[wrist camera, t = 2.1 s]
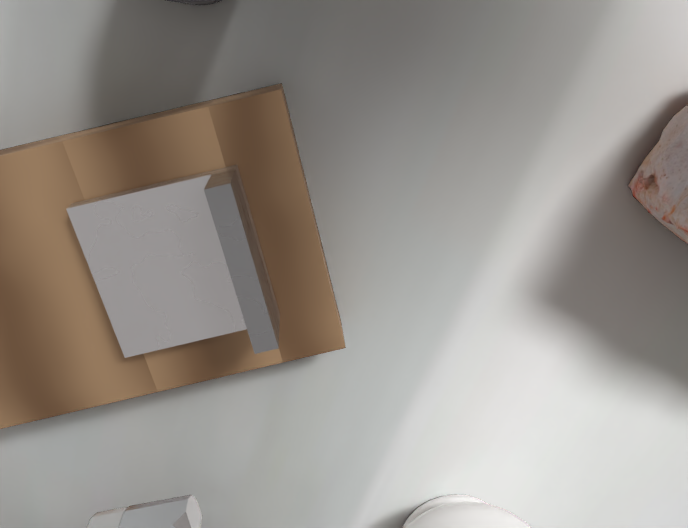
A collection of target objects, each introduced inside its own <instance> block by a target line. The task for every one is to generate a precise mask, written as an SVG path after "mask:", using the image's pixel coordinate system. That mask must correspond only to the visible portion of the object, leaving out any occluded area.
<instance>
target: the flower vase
mask: <svg viewBox="0 0 688 528" xmlns="http://www.w3.org/2000/svg"><path fill="white" fill-rule="evenodd" d="M402 528H531V526H530V525H529V524H528V523H527V522H525V521H524V520H522V519H521V518H519V517H518V516H516V515H514V514H513V513H511V512H510V511H508V510H506V509H503V508H500V507H497V506H494V505H490V504H487V503H486V502H484V501H483V500H481V499H479V498H475V497H472V496H469V495H457V494H454V495H447V496H441V497H438V498H435V499H433V500H430V501H428V502H426V503H424V504H423V505H421V506H420V507H418V508H417V509H416V510H415V511H414V512H413V513H412V514H411V515H410V516H409V517H408V518H407V520H406V522H405V523H404V525H403V527H402Z"/></svg>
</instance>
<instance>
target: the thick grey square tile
mask: <svg viewBox="0 0 688 528" xmlns="http://www.w3.org/2000/svg"><path fill="white" fill-rule="evenodd" d="M66 210H67V212H68V215H69V217H70V220H71V223H72V225H73V228H74V230H75V233H76V235H77V238H78V240H79V243H80V245H81V248H82V250H83V253H84V256H85V258H86V261H87V263H88V266H89V268H90V271H91V273H92V276H93V278H94V281H95V283H96V286H97V289H98V291H99V294H100V296H101V299H102V301H103V304H104V306H105V309H106V311H107V314H108V316H109V319H110V321H111V324H112V327H113V329H114V332H115V334H116V337H117V339H118V342H119V344H120V347H121V349H122V352H123V354H124V357H125V358H127V357H131V356H135V355H140V354H144V353H148V352H152V351H157V350H161V349H165V348H169V347H174V346H178V345H182V344H186V343H191V342H195V341H199V340H203V339H208V338H212V337H216V336H220V335H225V334H229V333H233V332H237V331H242V330H246V329H247V331H248V334H249V337H250V341H251V344H252V347H253V350H254V354H257V353H261V352H266V351H270V350H274V349H279V325H280V313H279V309H278V306H277V302H276V299H275V295H274V292H273V288H272V285H271V281H270V278H269V274H268V271H267V267H266V264H265V260H264V257H263V253H262V250H261V246H260V243H259V239H258V236H257V232H256V229H255V225H254V222H253V218H252V215H251V211H250V208H249V204H248V201H247V197H246V194H245V190H244V187H243V183H242V180H241V176H240V172H239V169H238V165H233V166H229V167H224V168H220V169H216V170H212V171H207V172H203V173H199V174H195V175H190V176H186V177H182V178H178V179H174V180H169V181H165V182H161V183H157V184H152V185H148V186H144V187H140V188H136V189H131V190H127V191H123V192H119V193H114V194H110V195H106V196H102V197H97V198H93V199H89V200H85V201H81V202H76V203H72V204H71V205H70V206H69V207H68V208H66Z"/></svg>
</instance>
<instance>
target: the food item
mask: <svg viewBox="0 0 688 528" xmlns="http://www.w3.org/2000/svg"><path fill="white" fill-rule="evenodd" d="M628 187H629V188H630V189H631V190H632V194H633V196H634V197H635V198H636V199H637V200H638V201H639V202H640V203H641V204H642V205H643V206H644V207H645V209H646V210H647V211H648V212H649V213H650V214H651V215H653V216H654V217H655V218H656V219H657V220H658V221H659V222H660V223H661V224H663V225H664V226H665V227H666V228H667V229H669V230H670V231H671V232H672V233H674V234H675V235H676V236H677V237H679V238H680V239H681V240H683V241H684V242H686V243H687V244H688V105H687V106H685V107H684V108H683V109H682V110H680V111H679V112H678V113H677V114H675V115H674V116H673V118H672V119H671V120H670V122H669V123H668V124H667V126H666V127H665V128H664V130H663V132H662V135H661V137H660V140H659V142H658V143H657V144H656V145H655V146H654V148H653V149H652V150H651V151H650V153H649V154H648V155H647V156H646V158H645V159H644V161H643V162H642V164H641V165H640V167H639V169H638V171H637V172H636V174H635V175H634V177H633V179H632V180H631V182H630V183H629V185H628Z"/></svg>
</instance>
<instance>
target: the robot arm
mask: <svg viewBox="0 0 688 528" xmlns="http://www.w3.org/2000/svg"><path fill="white" fill-rule="evenodd" d="M201 521H202V513H201V511H200V508H199V505H198V502H197V499H196V498H195V497H194V496H193V495H188V496H182V497H177V498H171V499H166V500H160V501H155V502H149V503H144V504H138V505H133V506H129V507H123V508H118V509H113V510H108V511H103V512H98V513H96V514H95V515H94V516H93V517H91V519H90V521H89V523H88V526H87V528H200V527H201Z"/></svg>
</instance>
